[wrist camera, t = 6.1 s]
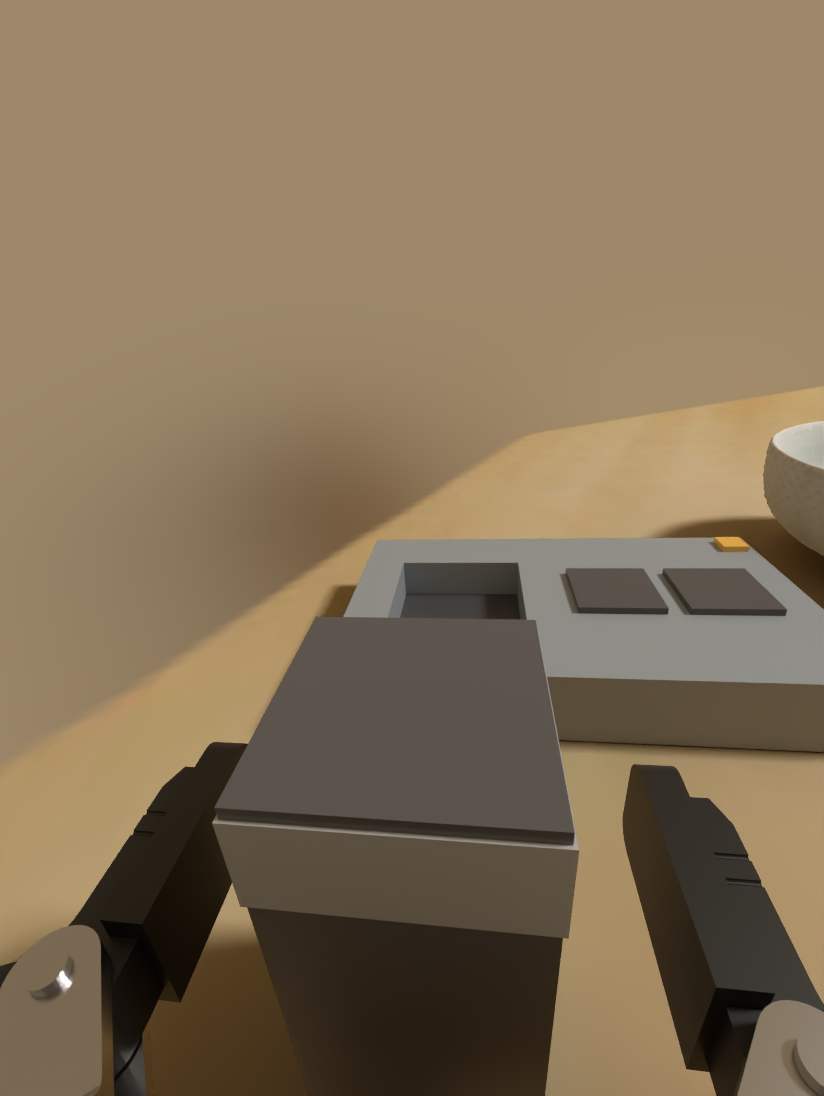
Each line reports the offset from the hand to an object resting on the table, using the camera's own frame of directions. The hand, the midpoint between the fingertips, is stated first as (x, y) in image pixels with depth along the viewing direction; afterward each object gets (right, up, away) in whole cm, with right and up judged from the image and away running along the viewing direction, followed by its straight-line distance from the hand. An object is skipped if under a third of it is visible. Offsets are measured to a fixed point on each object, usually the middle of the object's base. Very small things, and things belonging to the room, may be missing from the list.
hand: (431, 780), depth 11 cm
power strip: (+7, 0, +14) cm, 15 cm away
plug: (0, -6, +1) cm, 6 cm away
